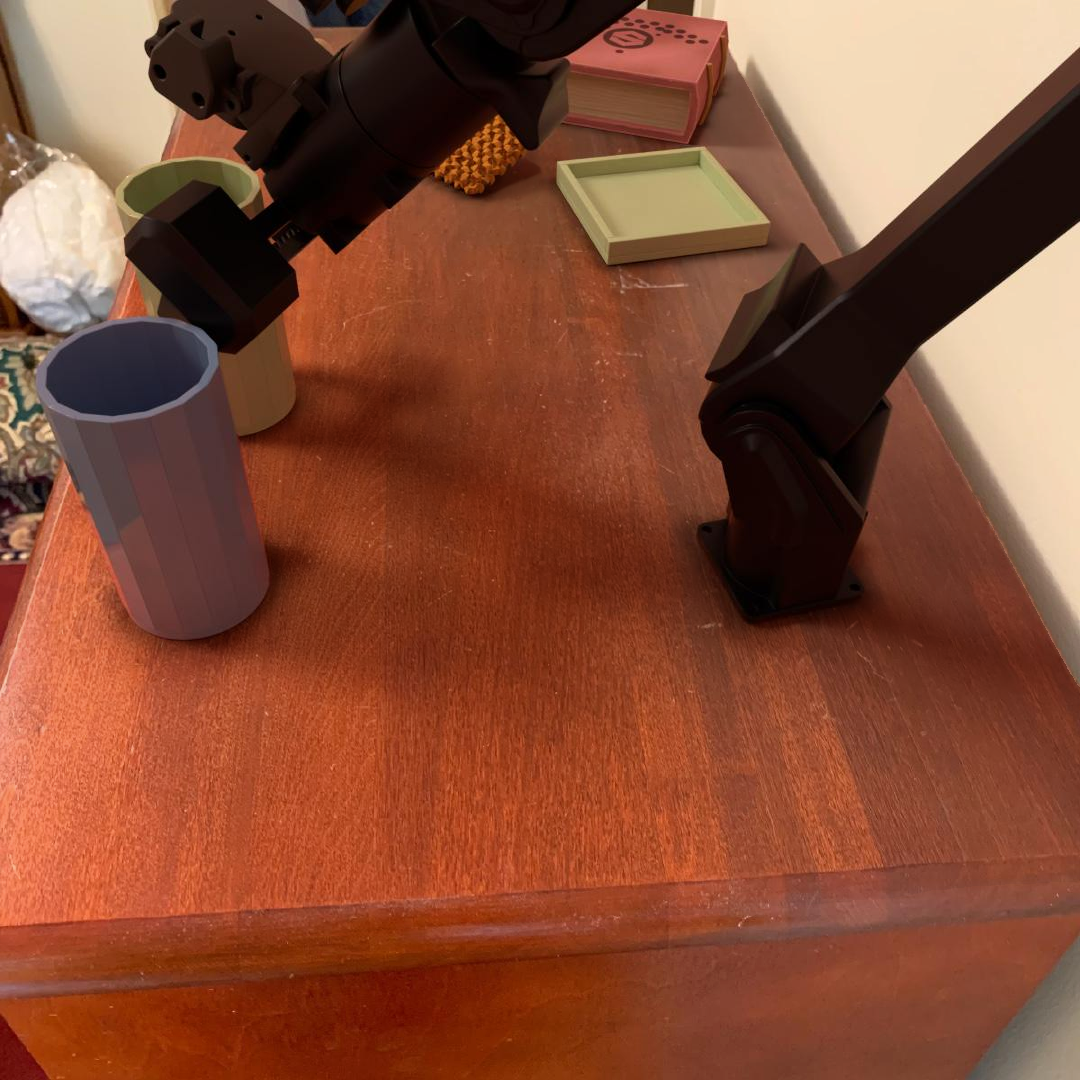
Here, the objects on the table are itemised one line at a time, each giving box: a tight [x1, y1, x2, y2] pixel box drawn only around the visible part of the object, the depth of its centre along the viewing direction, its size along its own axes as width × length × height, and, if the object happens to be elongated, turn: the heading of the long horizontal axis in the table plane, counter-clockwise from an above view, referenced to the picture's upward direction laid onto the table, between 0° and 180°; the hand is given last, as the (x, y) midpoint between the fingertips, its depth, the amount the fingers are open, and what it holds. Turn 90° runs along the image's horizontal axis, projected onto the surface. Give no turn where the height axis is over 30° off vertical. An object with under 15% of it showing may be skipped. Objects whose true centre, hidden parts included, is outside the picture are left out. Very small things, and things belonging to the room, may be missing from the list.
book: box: [560, 7, 730, 145], centre depth 88 cm, size 14×15×5 cm
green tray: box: [555, 146, 772, 266], centre depth 75 cm, size 12×12×2 cm
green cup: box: [115, 155, 297, 437], centre depth 54 cm, size 7×7×13 cm
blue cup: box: [34, 315, 271, 641], centre depth 44 cm, size 7×7×13 cm
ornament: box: [429, 114, 527, 195], centre depth 79 cm, size 7×10×15 cm
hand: (221, 274), depth 52 cm, fingers open, 9 cm apart
